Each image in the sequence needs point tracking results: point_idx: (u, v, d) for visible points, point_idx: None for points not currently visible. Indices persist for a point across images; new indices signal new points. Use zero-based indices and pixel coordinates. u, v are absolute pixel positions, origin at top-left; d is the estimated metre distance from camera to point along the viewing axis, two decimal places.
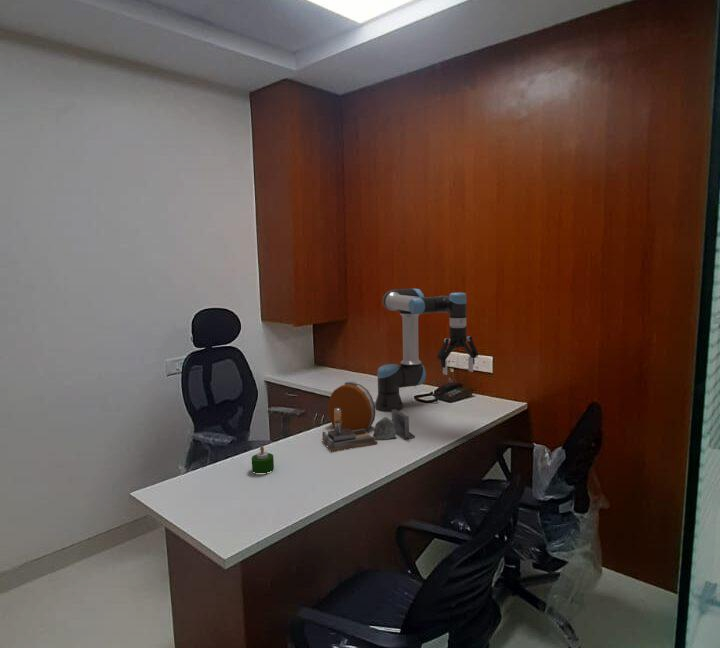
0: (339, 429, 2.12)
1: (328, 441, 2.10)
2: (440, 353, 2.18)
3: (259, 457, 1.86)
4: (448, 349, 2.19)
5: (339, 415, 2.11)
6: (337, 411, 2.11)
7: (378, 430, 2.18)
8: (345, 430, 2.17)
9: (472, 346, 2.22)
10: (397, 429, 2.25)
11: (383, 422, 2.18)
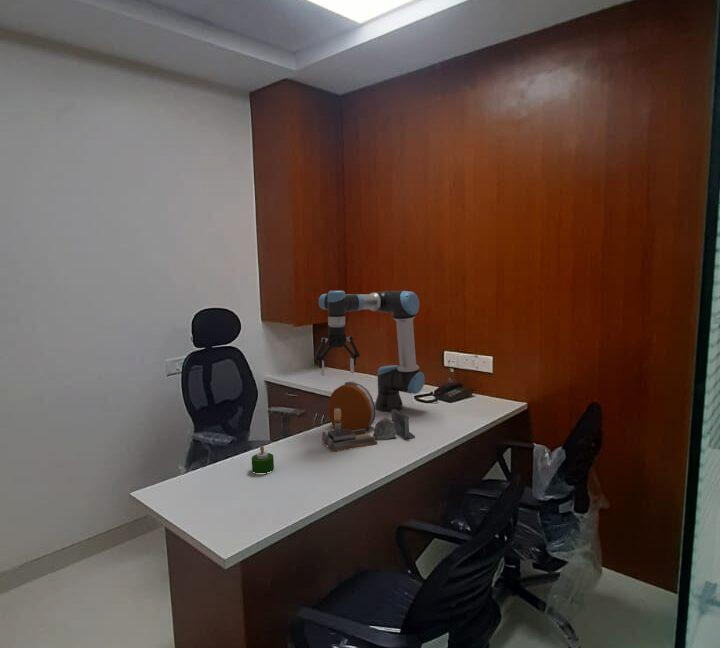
0: (339, 429, 2.12)
1: (328, 441, 2.10)
2: (316, 353, 2.09)
3: (259, 457, 1.86)
4: (326, 349, 2.11)
5: (339, 415, 2.11)
6: (337, 411, 2.11)
7: (378, 430, 2.18)
8: (345, 430, 2.17)
9: (352, 347, 2.14)
10: (397, 429, 2.25)
11: (383, 422, 2.18)
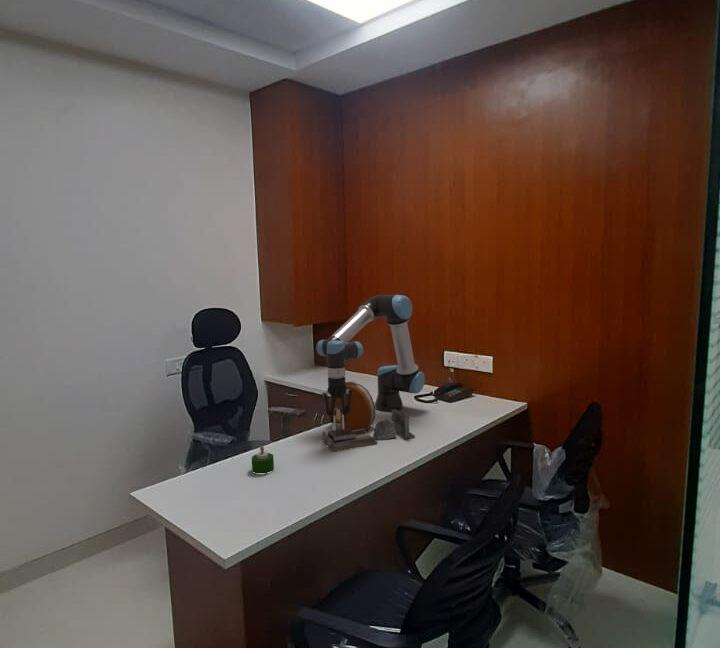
0: (339, 429, 2.12)
1: (328, 441, 2.10)
2: (325, 409, 2.10)
3: (259, 457, 1.86)
4: (331, 402, 2.11)
5: (339, 415, 2.11)
6: (337, 411, 2.11)
7: (378, 430, 2.18)
8: (345, 430, 2.17)
9: (347, 400, 2.12)
10: (397, 429, 2.25)
11: (383, 422, 2.18)
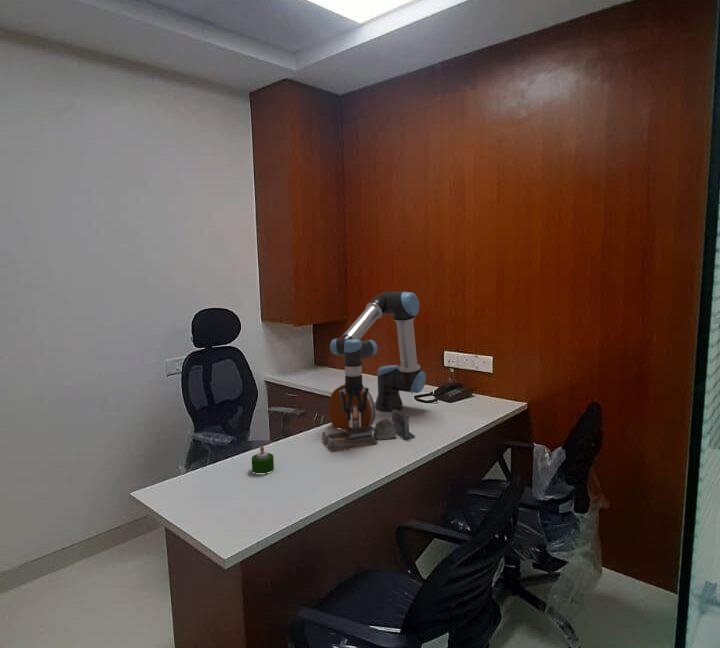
0: (356, 426, 2.15)
1: (328, 441, 2.10)
2: (342, 406, 2.13)
3: (259, 457, 1.86)
4: (348, 400, 2.13)
5: (356, 413, 2.14)
6: (354, 409, 2.13)
7: (378, 430, 2.18)
8: (361, 428, 2.19)
9: (364, 398, 2.15)
10: (397, 429, 2.25)
11: (383, 422, 2.18)
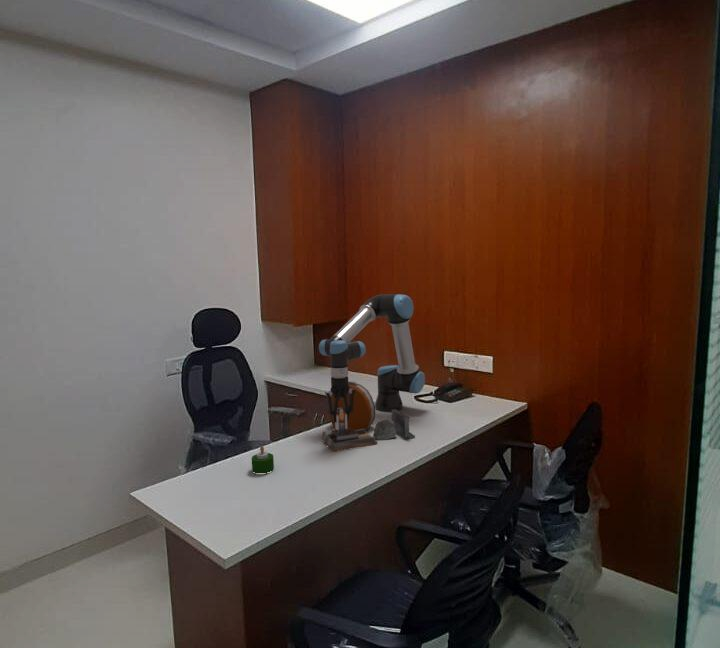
0: (342, 429, 2.12)
1: (328, 441, 2.10)
2: (328, 408, 2.10)
3: (259, 457, 1.86)
4: (334, 402, 2.11)
5: (342, 415, 2.12)
6: (340, 411, 2.11)
7: (378, 430, 2.18)
8: (348, 430, 2.17)
9: (350, 400, 2.13)
10: (397, 429, 2.25)
11: (383, 422, 2.18)
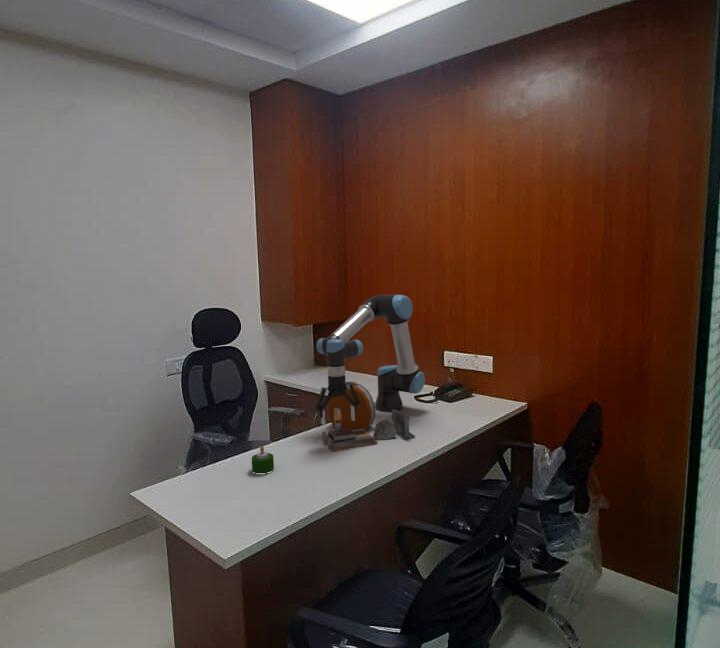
0: (339, 429, 2.12)
1: (328, 441, 2.10)
2: (317, 403, 2.08)
3: (259, 457, 1.86)
4: (326, 398, 2.10)
5: (339, 415, 2.11)
6: (337, 411, 2.11)
7: (378, 430, 2.18)
8: (345, 430, 2.17)
9: (353, 394, 2.13)
10: (397, 429, 2.25)
11: (383, 422, 2.18)
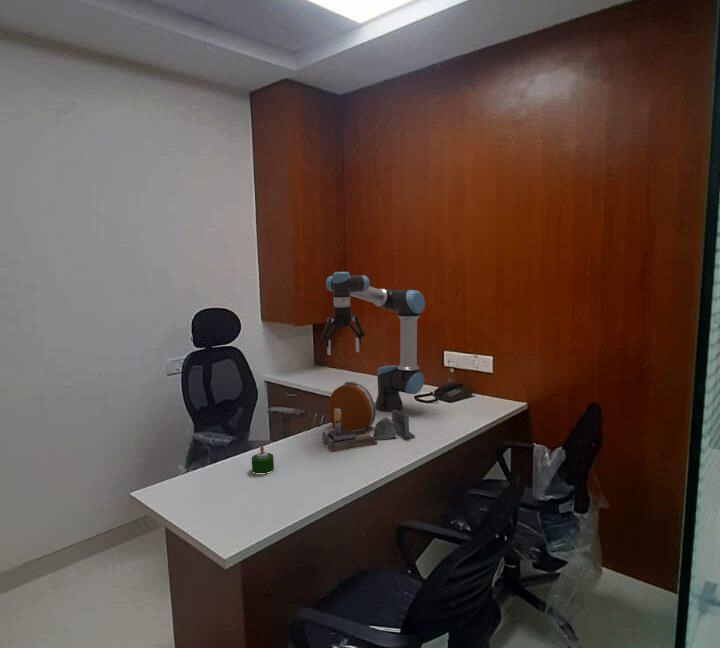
0: (339, 429, 2.12)
1: (328, 441, 2.10)
2: (323, 333, 2.15)
3: (259, 457, 1.86)
4: (332, 329, 2.17)
5: (339, 415, 2.11)
6: (337, 411, 2.11)
7: (378, 430, 2.18)
8: (345, 430, 2.17)
9: (358, 326, 2.20)
10: (397, 429, 2.25)
11: (383, 422, 2.18)
